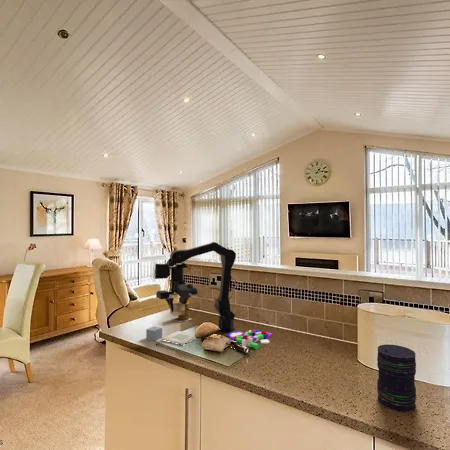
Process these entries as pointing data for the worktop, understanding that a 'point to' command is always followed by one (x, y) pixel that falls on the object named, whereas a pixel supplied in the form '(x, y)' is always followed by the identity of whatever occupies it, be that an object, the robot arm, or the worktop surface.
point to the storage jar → (396, 378)
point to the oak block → (178, 309)
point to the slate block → (154, 333)
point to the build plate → (179, 337)
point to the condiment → (184, 316)
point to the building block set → (250, 337)
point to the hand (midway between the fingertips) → (177, 311)
